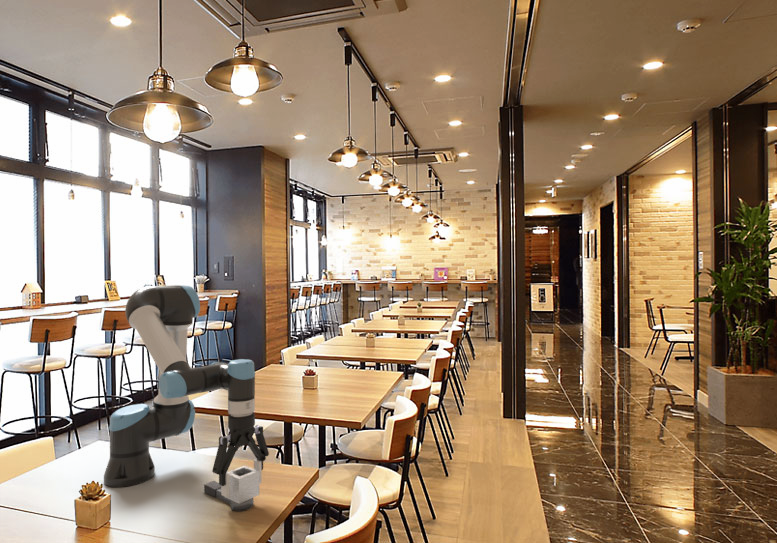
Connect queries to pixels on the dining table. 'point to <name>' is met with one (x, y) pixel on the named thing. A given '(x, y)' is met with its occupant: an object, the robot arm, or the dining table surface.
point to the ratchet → (215, 491)
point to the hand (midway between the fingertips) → (242, 488)
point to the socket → (243, 484)
